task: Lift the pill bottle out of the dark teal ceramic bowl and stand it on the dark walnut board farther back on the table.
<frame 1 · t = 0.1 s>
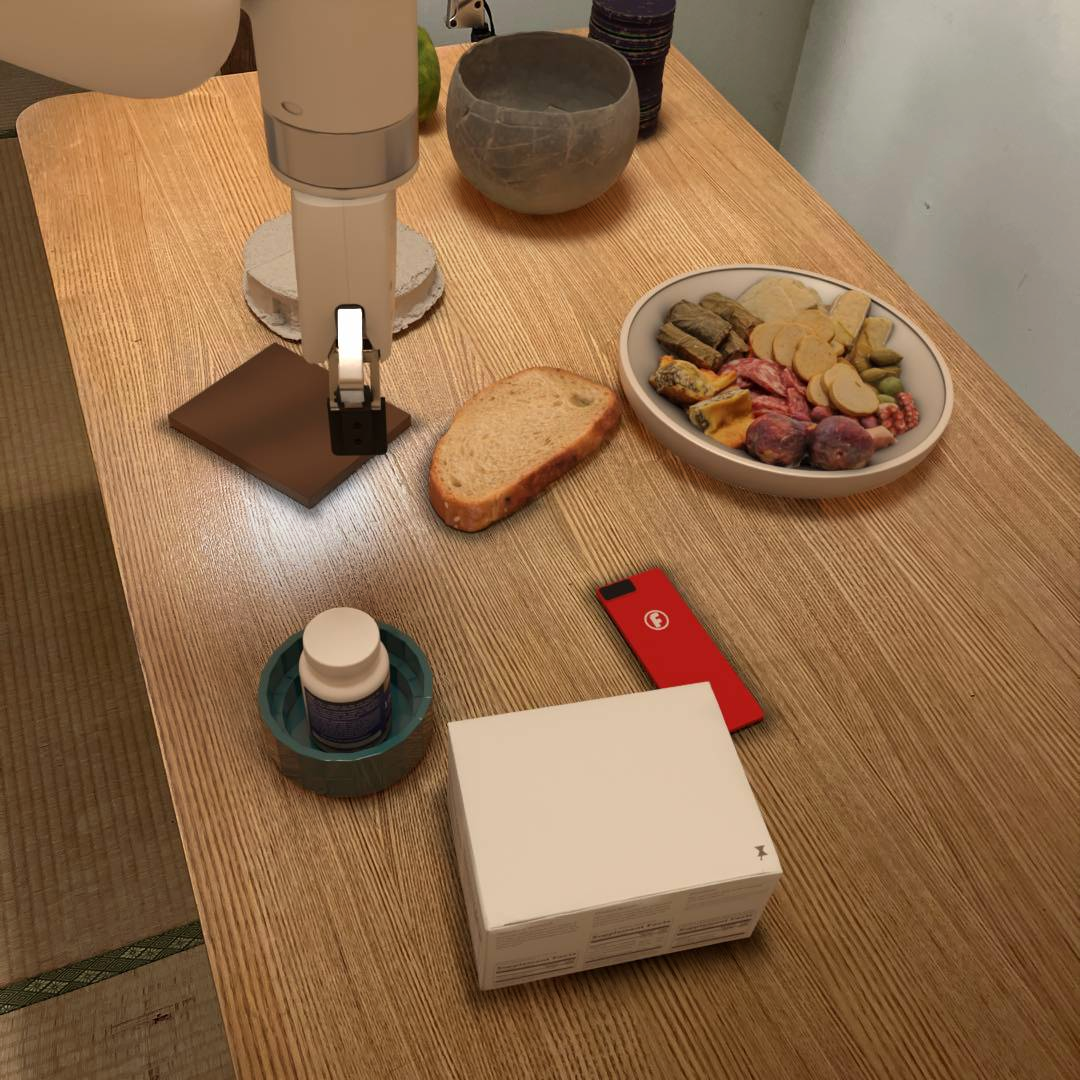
hand: (360, 397, 66), 20 cm above the table, tool pointing down, fingers open, 9 cm apart
bowl: (536, 198, 121), on the table
electronic device: (675, 654, 80), on the table
pill bottle: (350, 724, 74), resting on teal bowl
lettuce: (353, 125, 129), on the table
teal bowl: (350, 726, 74), on the table
walnut board: (292, 425, 93), on the table
supplement box: (591, 865, 68), on the table
bowl 2: (772, 402, 100), on the table
bread slice: (527, 453, 93), on the table
grey pie: (342, 289, 107), on the table
dark purple ridged cylinder: (618, 124, 134), on the table
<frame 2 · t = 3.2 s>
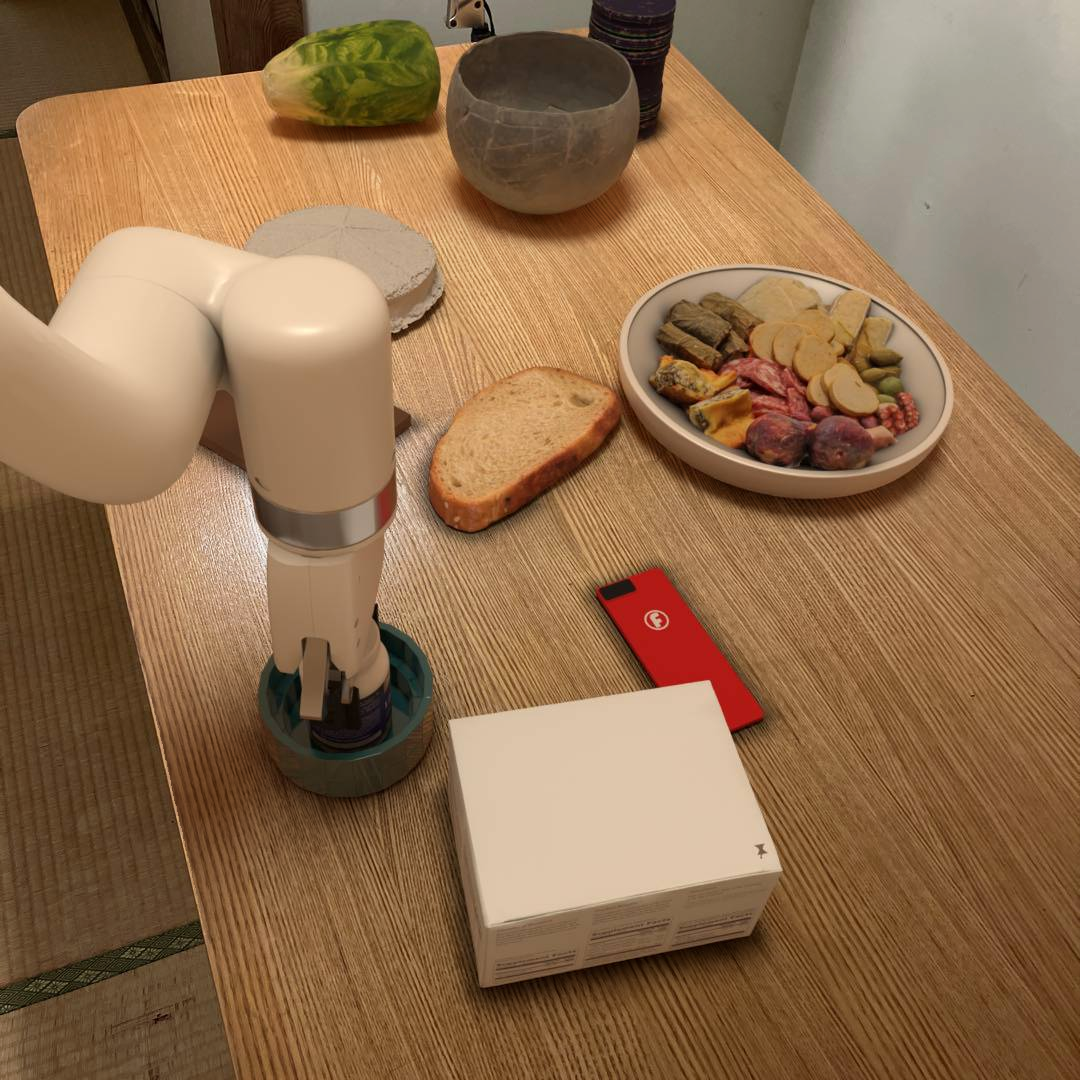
hand: (345, 680, 70), 6 cm above the table, tool pointing down, fingers closed on pill bottle, 5 cm apart
pill bottle: (350, 724, 74), resting on teal bowl, touching gripper
everything else where it was.
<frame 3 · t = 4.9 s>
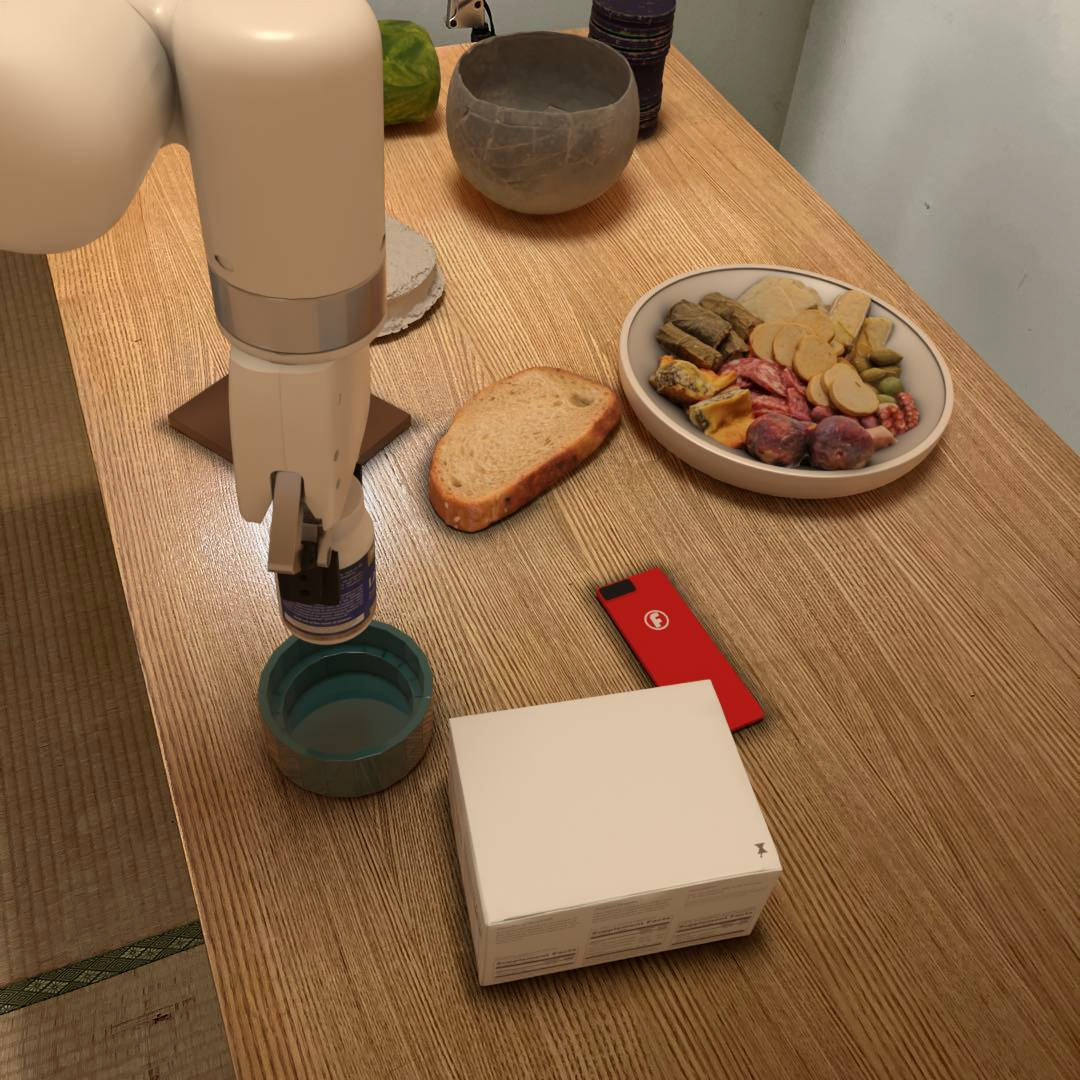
hand: (323, 552, 60), 18 cm above the table, tool pointing down, fingers closed on pill bottle, 5 cm apart
pill bottle: (328, 611, 64), point 13 cm above the table, touching gripper
everything else where it was.
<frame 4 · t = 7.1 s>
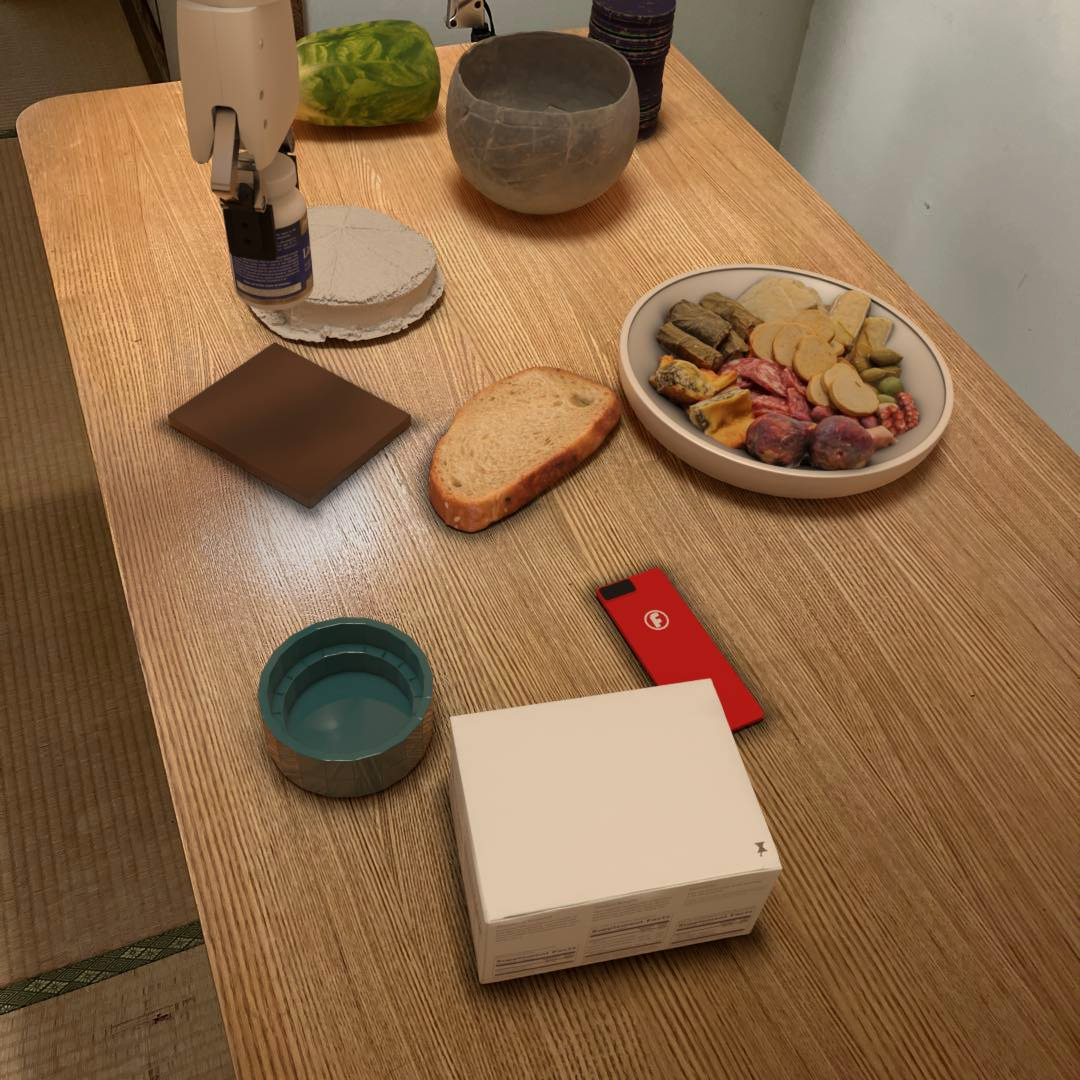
hand: (266, 228, 75), 21 cm above the table, tool pointing down, fingers closed on pill bottle, 5 cm apart
pill bottle: (275, 292, 79), point 16 cm above the table, touching gripper
everything else where it was.
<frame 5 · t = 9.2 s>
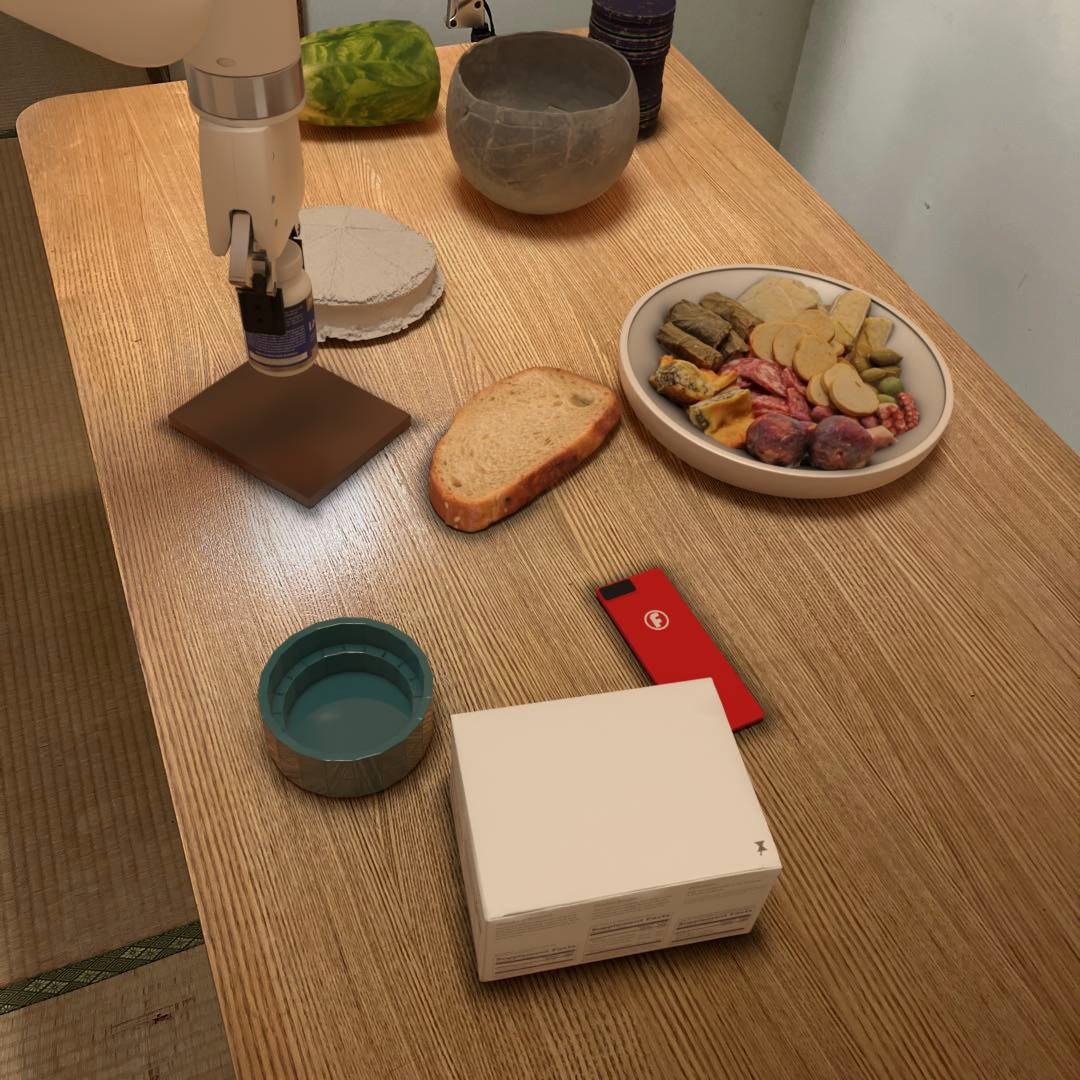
hand: (275, 304, 84), 13 cm above the table, tool pointing down, fingers closed on pill bottle, 5 cm apart
pill bottle: (283, 359, 88), point 7 cm above the table, touching gripper
everything else where it was.
when the fingers open (6 cm above the table, at t = 11.1 s): pill bottle stays where it is, resting on walnut board.
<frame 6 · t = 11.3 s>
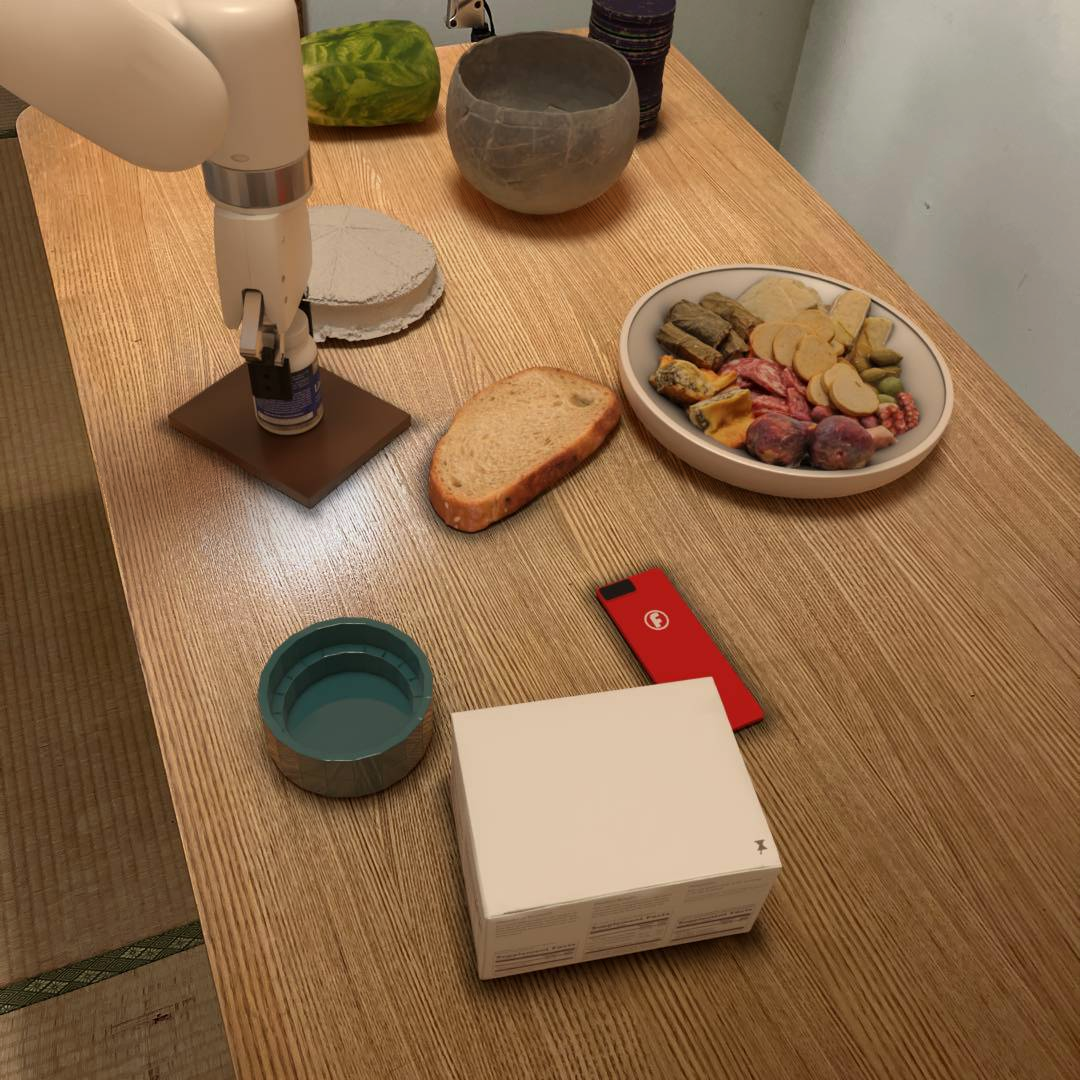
hand: (284, 366, 89), 6 cm above the table, tool pointing down, fingers open, 6 cm apart
pill bottle: (290, 416, 93), point 1 cm above the table, touching walnut board
everything else where it was.
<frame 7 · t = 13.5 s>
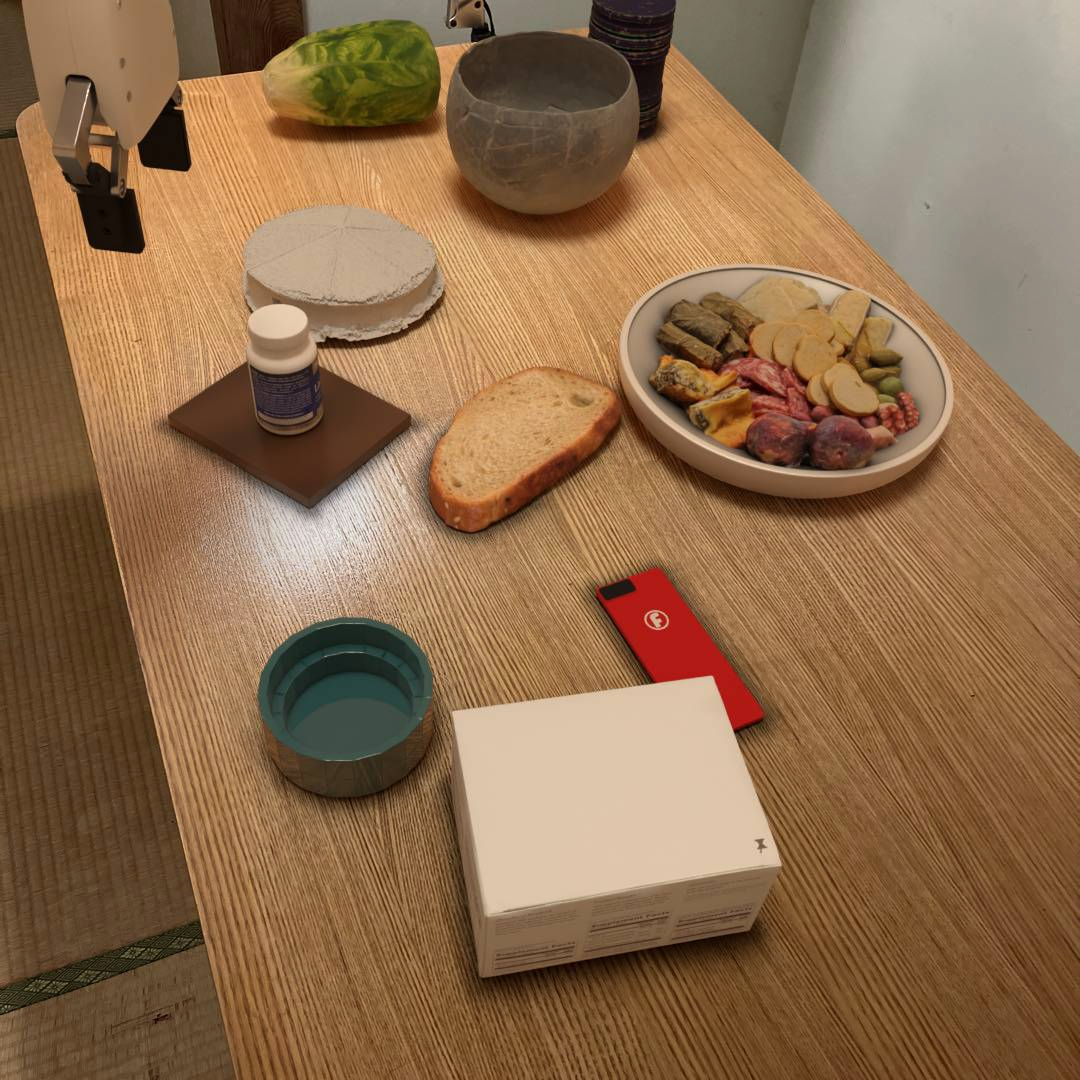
hand: (143, 206, 67), 26 cm above the table, tool pointing down, fingers open, 9 cm apart
nothing on the table moved.
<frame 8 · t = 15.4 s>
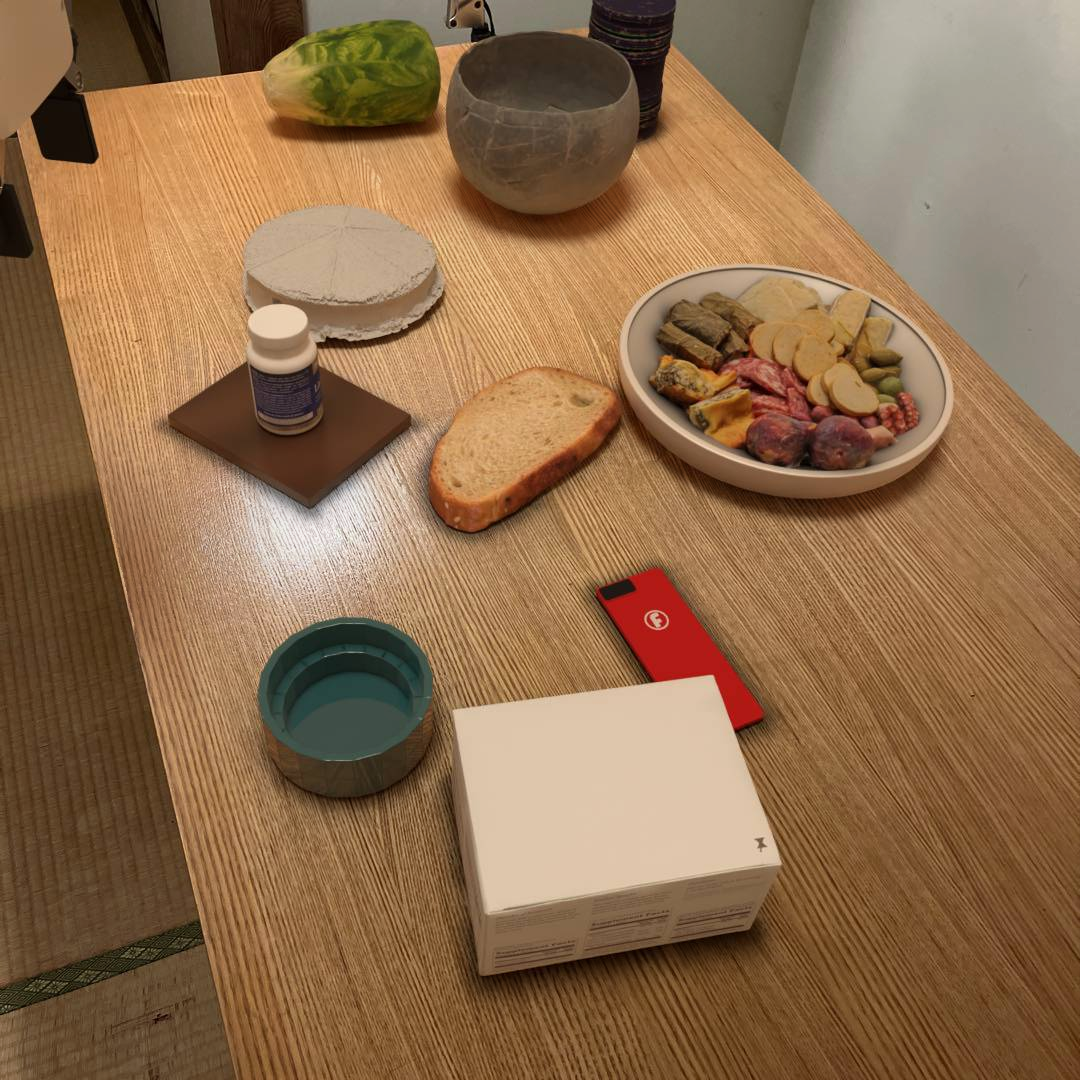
hand: (39, 203, 60), 30 cm above the table, tool pointing down, fingers open, 9 cm apart
nothing on the table moved.
at the end: pill bottle inside the target area on the walnut board (0.1 cm from its centre), point 1.0 cm above the walnut board's base; pill bottle tilted 0°; pill bottle touching walnut board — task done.
